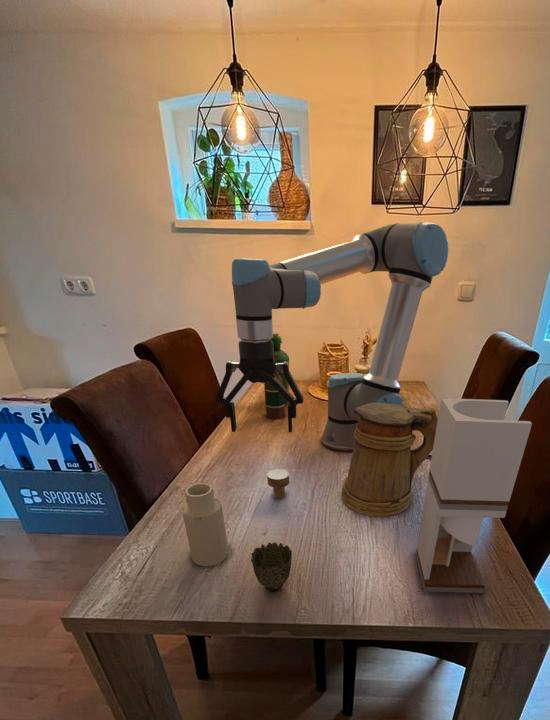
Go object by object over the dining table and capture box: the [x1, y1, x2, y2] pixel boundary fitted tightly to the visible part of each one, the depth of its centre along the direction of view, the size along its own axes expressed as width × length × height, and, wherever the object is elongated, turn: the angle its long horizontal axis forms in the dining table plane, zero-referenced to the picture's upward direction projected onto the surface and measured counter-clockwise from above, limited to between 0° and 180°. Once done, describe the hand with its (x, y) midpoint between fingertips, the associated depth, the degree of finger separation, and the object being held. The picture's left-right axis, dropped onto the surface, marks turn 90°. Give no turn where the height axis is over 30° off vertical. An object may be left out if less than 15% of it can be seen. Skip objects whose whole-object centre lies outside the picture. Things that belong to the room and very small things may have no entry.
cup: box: [251, 541, 293, 593], centre depth 74 cm, size 8×7×8 cm
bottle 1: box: [181, 482, 229, 567], centre depth 79 cm, size 7×7×16 cm
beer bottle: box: [263, 352, 286, 420], centre depth 148 cm, size 8×8×24 cm
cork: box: [266, 468, 290, 499], centre depth 103 cm, size 6×6×6 cm
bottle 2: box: [270, 332, 290, 405], centre depth 160 cm, size 11×11×28 cm
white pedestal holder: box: [415, 397, 533, 594], centre depth 72 cm, size 11×11×35 cm
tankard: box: [340, 403, 438, 517], centre depth 99 cm, size 18×24×25 cm
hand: (262, 430), depth 97 cm, fingers open, 13 cm apart
